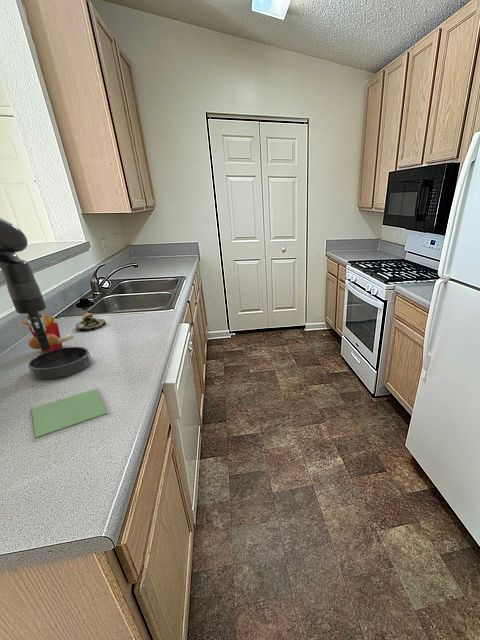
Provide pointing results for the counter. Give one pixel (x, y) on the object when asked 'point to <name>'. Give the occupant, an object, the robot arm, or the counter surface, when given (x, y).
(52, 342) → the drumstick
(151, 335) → the counter surface
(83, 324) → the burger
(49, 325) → the french fries
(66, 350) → the pan
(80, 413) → the napkin
